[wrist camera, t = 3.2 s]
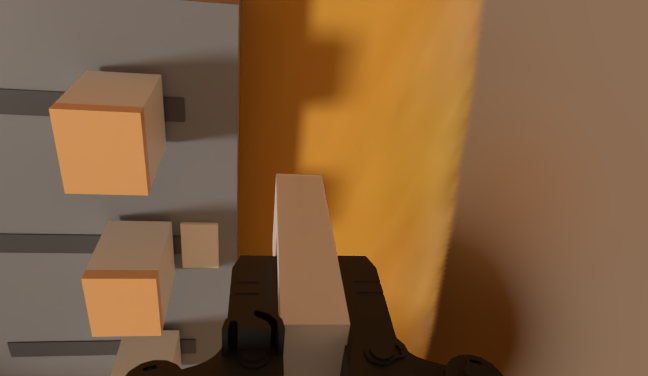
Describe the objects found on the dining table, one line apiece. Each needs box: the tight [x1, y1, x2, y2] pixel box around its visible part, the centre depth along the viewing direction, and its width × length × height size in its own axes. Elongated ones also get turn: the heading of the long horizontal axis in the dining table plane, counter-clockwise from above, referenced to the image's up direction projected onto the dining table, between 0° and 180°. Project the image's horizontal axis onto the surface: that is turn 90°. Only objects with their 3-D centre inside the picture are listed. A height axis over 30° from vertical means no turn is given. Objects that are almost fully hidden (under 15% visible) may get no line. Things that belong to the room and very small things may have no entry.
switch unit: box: [0, 0, 241, 376], centre depth 28 cm, size 18×26×3 cm
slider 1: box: [49, 70, 166, 196], centre depth 21 cm, size 3×4×5 cm
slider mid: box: [81, 221, 175, 337], centre depth 25 cm, size 3×4×5 cm
